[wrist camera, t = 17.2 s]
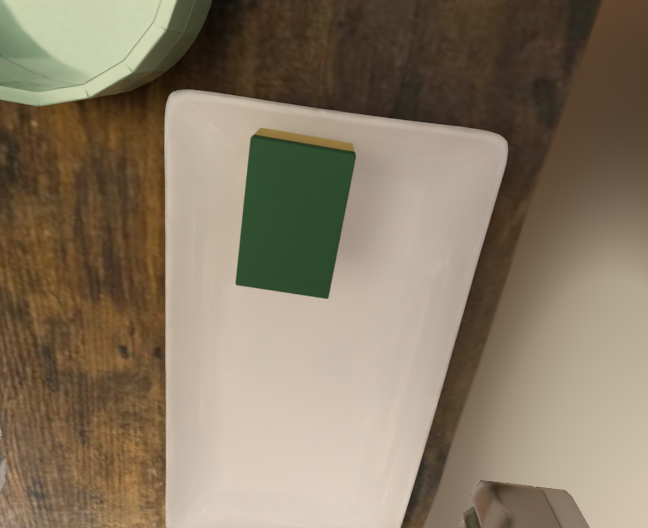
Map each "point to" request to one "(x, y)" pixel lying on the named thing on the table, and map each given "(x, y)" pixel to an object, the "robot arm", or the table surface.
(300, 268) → the sponge
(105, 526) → the table surface
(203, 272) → the tray
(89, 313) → the table surface
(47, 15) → the bowl
